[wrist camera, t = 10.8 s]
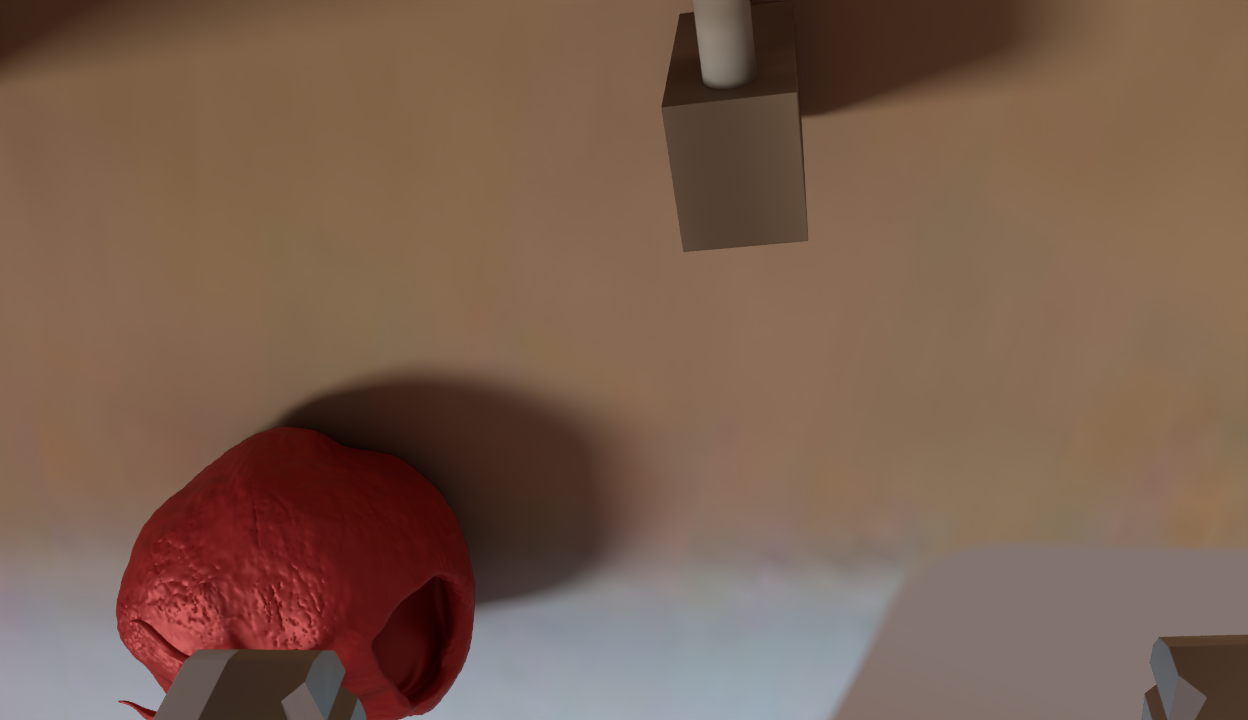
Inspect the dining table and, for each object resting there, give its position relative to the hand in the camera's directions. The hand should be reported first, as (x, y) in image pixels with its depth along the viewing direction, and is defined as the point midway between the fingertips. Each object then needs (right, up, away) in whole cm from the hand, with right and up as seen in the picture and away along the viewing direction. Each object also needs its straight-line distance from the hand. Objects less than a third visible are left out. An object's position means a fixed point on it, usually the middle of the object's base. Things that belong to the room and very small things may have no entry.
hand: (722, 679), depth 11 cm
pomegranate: (-10, -2, +24) cm, 26 cm away
